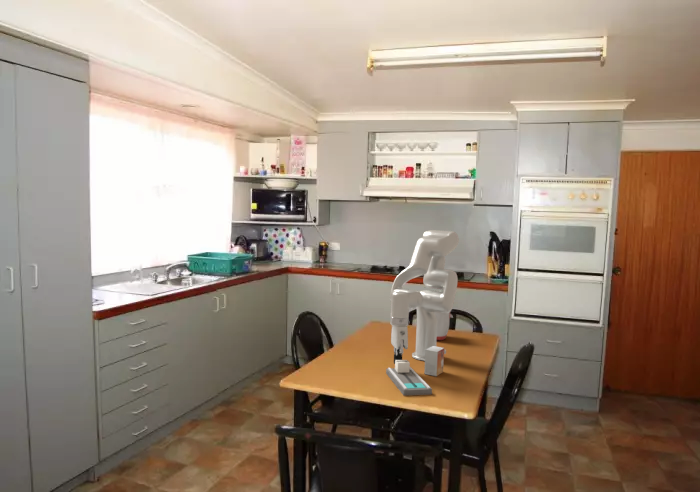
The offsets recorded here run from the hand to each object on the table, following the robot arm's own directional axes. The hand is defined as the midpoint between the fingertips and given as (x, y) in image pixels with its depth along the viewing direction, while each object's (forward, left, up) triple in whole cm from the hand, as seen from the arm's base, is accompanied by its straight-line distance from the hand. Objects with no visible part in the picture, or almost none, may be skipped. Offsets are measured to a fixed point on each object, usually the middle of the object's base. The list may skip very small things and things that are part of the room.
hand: (397, 363), depth 207 cm
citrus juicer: (-37, -53, -4) cm, 65 cm away
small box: (-15, +3, -4) cm, 16 cm away
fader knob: (0, +6, -1) cm, 6 cm away
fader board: (0, +14, -3) cm, 15 cm away
